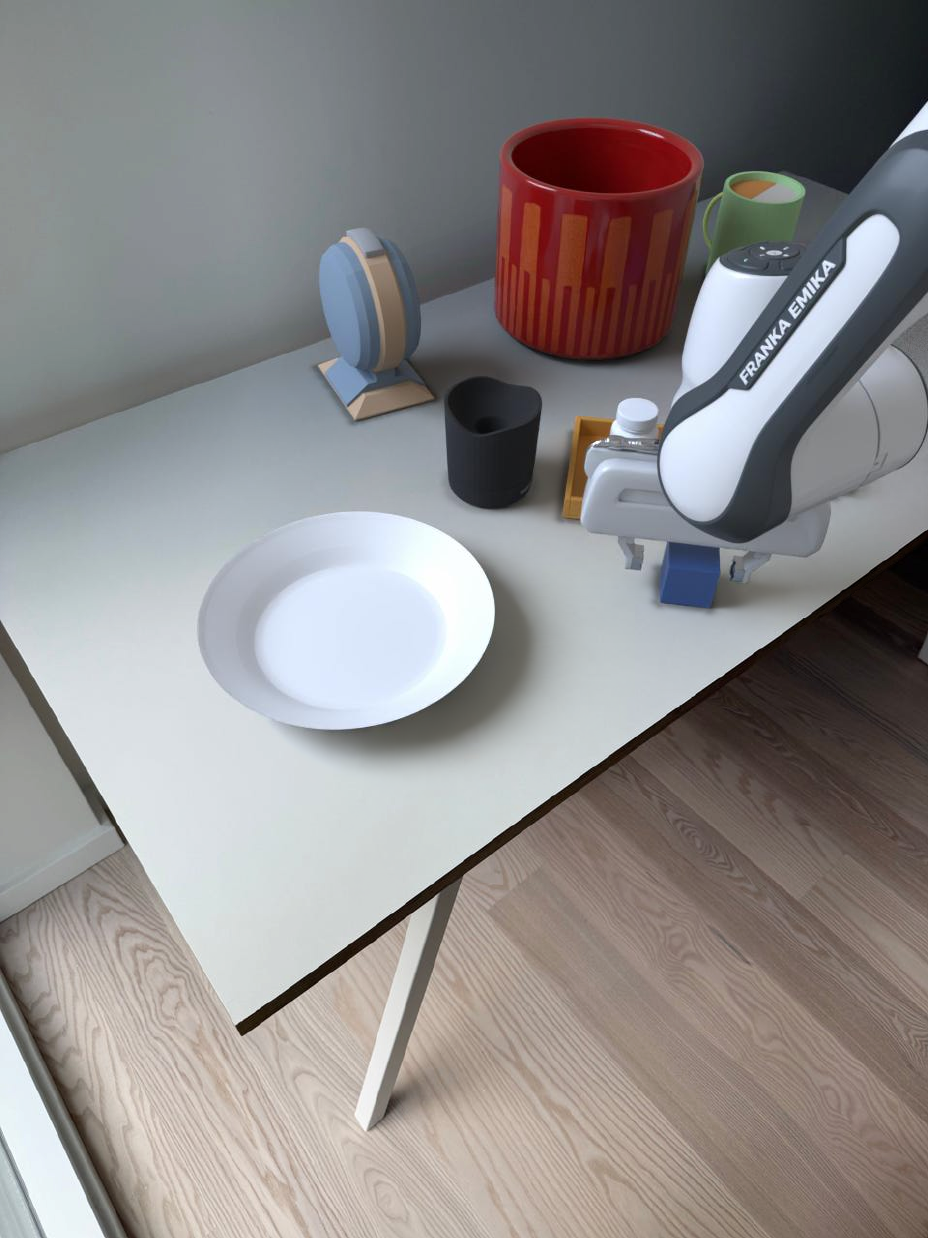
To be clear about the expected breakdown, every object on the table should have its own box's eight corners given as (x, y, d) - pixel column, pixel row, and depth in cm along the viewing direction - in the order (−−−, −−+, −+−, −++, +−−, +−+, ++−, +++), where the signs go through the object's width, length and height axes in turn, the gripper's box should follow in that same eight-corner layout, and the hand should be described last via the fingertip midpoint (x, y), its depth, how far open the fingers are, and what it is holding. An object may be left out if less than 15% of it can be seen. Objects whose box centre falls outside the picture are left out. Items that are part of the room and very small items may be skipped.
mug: (794, 274, 124) (820, 184, 115) (757, 302, 118) (781, 210, 109) (715, 246, 129) (734, 158, 120) (676, 271, 124) (693, 182, 115)
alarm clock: (438, 404, 102) (435, 253, 89) (358, 425, 99) (344, 273, 86) (389, 344, 111) (381, 198, 98) (315, 362, 108) (296, 215, 95)
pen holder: (468, 523, 88) (469, 440, 81) (430, 469, 94) (428, 387, 87) (551, 497, 91) (560, 415, 84) (509, 446, 97) (514, 365, 89)
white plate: (147, 643, 78) (136, 616, 75) (356, 504, 90) (353, 476, 88) (344, 814, 66) (339, 788, 64) (551, 628, 79) (554, 600, 76)
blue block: (709, 574, 84) (719, 538, 81) (710, 608, 81) (720, 573, 78) (660, 568, 84) (669, 533, 81) (659, 602, 81) (668, 567, 78)
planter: (556, 387, 105) (573, 213, 90) (461, 300, 118) (462, 136, 103) (709, 337, 112) (749, 169, 97) (603, 261, 126) (624, 103, 111)
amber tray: (685, 445, 97) (689, 426, 95) (685, 531, 88) (690, 513, 86) (573, 433, 99) (576, 415, 97) (562, 517, 89) (564, 498, 87)
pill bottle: (655, 470, 94) (669, 402, 87) (641, 497, 91) (655, 428, 84) (611, 458, 95) (622, 390, 89) (597, 484, 92) (607, 415, 86)
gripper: (585, 457, 69) (567, 581, 80) (855, 486, 67) (801, 610, 78) (590, 410, 74) (572, 534, 84) (845, 437, 72) (795, 560, 82)
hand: (684, 571), depth 81 cm, fingers open, 8 cm apart
